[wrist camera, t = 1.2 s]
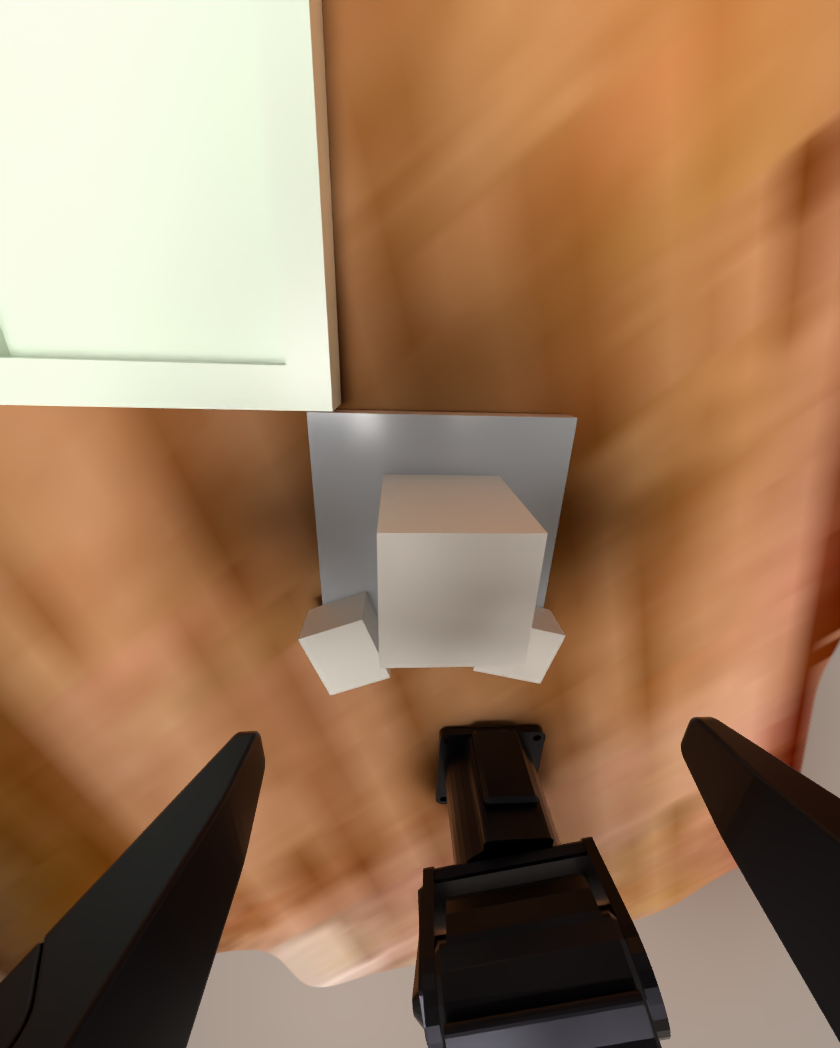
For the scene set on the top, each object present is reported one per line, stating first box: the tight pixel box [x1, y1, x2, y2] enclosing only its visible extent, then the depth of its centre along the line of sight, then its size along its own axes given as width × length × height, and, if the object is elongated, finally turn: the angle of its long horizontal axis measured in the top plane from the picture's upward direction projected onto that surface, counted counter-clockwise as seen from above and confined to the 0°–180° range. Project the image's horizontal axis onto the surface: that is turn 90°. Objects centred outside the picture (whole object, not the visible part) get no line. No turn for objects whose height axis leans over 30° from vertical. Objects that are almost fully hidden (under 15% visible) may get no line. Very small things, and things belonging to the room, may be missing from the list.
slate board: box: [298, 409, 577, 695], centre depth 18 cm, size 13×12×3 cm
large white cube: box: [377, 474, 548, 668], centre depth 15 cm, size 5×5×6 cm
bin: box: [0, 0, 341, 412], centre depth 12 cm, size 14×14×2 cm
